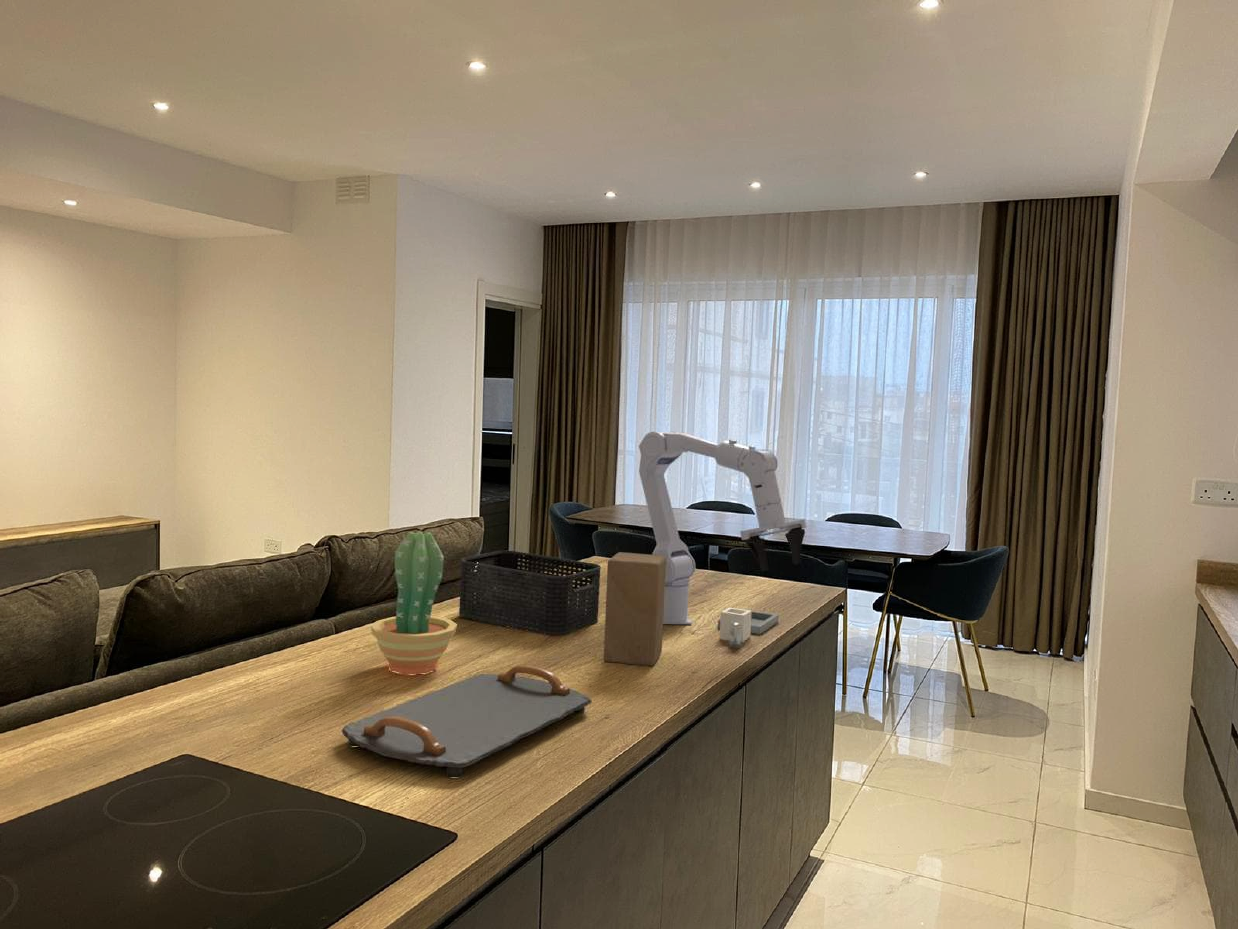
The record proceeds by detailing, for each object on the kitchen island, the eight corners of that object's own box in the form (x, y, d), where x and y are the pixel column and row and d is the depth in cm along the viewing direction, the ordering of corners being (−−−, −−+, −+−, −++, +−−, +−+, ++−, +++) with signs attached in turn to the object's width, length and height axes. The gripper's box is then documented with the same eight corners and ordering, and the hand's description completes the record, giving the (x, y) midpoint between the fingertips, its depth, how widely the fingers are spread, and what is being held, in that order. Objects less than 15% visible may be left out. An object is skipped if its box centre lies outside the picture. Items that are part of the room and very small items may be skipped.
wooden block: (653, 667, 174) (658, 563, 172) (602, 662, 175) (607, 559, 174) (661, 653, 183) (666, 555, 182) (613, 648, 185) (617, 551, 184)
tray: (760, 634, 202) (760, 626, 202) (717, 628, 206) (718, 620, 206) (778, 622, 214) (778, 614, 214) (737, 616, 219) (738, 608, 219)
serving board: (491, 684, 160) (492, 650, 160) (604, 711, 149) (605, 674, 149) (321, 753, 127) (322, 710, 126) (450, 794, 115) (451, 747, 115)
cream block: (742, 643, 194) (743, 615, 194) (719, 639, 197) (720, 612, 196) (750, 637, 199) (751, 610, 199) (727, 634, 201) (729, 607, 201)
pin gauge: (730, 648, 189) (732, 624, 189) (727, 645, 192) (728, 622, 191) (741, 648, 190) (743, 625, 189) (738, 645, 192) (739, 622, 192)
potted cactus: (470, 662, 172) (474, 530, 170) (431, 685, 157) (436, 542, 155) (396, 652, 176) (400, 524, 174) (352, 674, 161) (356, 534, 159)
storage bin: (604, 621, 209) (606, 563, 208) (558, 638, 192) (561, 576, 191) (502, 603, 222) (504, 549, 222) (452, 618, 205) (454, 559, 205)
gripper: (744, 508, 190) (758, 573, 188) (806, 497, 194) (820, 560, 192) (732, 512, 196) (745, 574, 195) (792, 501, 200) (805, 561, 199)
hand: (781, 567), depth 194 cm, fingers open, 7 cm apart
